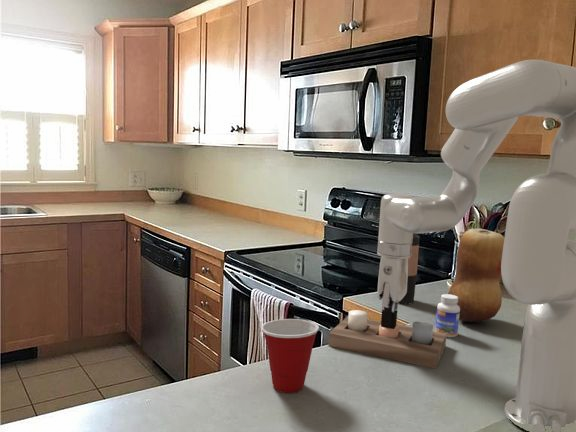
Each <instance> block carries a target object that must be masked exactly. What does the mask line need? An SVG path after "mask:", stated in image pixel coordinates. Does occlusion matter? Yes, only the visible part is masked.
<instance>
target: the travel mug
mask: <svg viewBox="0 0 576 432" xmlns="http://www.w3.org/2000/svg"><path fill="white" fill-rule="evenodd" d="M419 248H420V236H419V235H418V234H414V233H413V239H412V251H411V257H410V258H408V279H407V293H406V295H405V296H404V297H403V298H402V300H401V301H399V302H398V303H401V304H400V305H410V304H409V303H412V304H413V303H414V302H415V301H414V299H415V294H416V285H417V283H416V282H417V275H418V264H419V263H418V262H419Z"/></svg>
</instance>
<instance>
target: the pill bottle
mask: <svg viewBox="0 0 576 432" xmlns="http://www.w3.org/2000/svg"><path fill="white" fill-rule="evenodd" d="M457 303H458V297H457V296H455V295H451V294H448V293H444V294H441V297H440V302H438V304H437V308H436V317H435V325H434V326H435V327H434V328H435V329H434V332H440V333H445V334H447V335H446V338H455V337H457V336H458V331H459V324H460V318H459V315H460V307H459V306H458V305H457Z"/></svg>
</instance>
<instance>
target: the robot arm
mask: <svg viewBox="0 0 576 432" xmlns="http://www.w3.org/2000/svg"><path fill="white" fill-rule="evenodd" d="M445 116H446V120H447V122H448V124H449V125H450V126H451V127H452V128H454V129H453V132H452V133H451V134H450V136H449V137H448V139H447V140H446V142H445V143H444V145H443V146H442V148H441V150H440V157H441V159H442V161H443V162H444V164H445V165H446V166H447V167H448V168H450V169H451V170H452V176H451V178H450V180H449V182H448V184H446V185H447V186H445V188H444V190H443V191H442V192H441V194H440V195H439V196H423V197H413V196H412V195H409V194H403V193H386V194H384V195H383V196H382V197H381V200H380V208H379V209H380V211H379V224H378V237H377V240H378V241H377V252H376V254H377V255H378V256H379V257H380V262H379V269H378V279H377V280H378V281H377V291H376V292H377V293H376V295H377V298H378V299H379V300H382V301H381V303H382V305H381V319H380V320H381V321H380V322H381V327H386V328H391V329H394V328H395V327H396V325H397V319H398V305H399V304H398V302H399V301H401V300H402V298H403V297H404V296H405V295H406V293H407V279H408V258H410V257H411V251H412V239H413V234H415V235H418V234H426V233H435V232H437V233H439V232H445V231H446V232H447V231H449V230H451V229H454V227H456V226H457V225H458V224H459V223H460V222H461V220H463V218H464V217H465V216H466V214H467V213H468V212H469V210H470V209H471V207H472V206H473V204H474V203H475V201H476V198H477V197H478V193H479V187H480V181H481V180H480V173H481V172H482V170H483V169H484V167H485V166H486V164H487V163H488V161H489V160H490V159H491V157H492V156H493V155H494V154H495V152H496V151H497V149H498V147H500V145H501V143H502V142H503V141H504V139H505V138H506V136H507V135H508V134H509V132H511V130H512V128H513V127H514V125H515V124H516V122H517V121H518V119H519V117H523V116H530V117H531V116H532V117H540V118H549V119H555V120H556V119H557V120H558V121H559V122H560V126H559V129H558V130H557V132H556V134H555V136H554V138H553V141H552V145H551V146H550V157H549V163H548V167H547V171H546V173H539V174H536V175H532V176H530V177H528V178H527V179H525V180H524V181H522V183H520V184H519V186H518V187H517V188H516V189H515V191H514V193H513V195H512V197H511V198H510V202H509V206H508V211H507V218H506V223H505V224H506V226H505V232H504V237H505V238H504V245H503V253H502V261H501V275H500V276H501V279H502V284H503V285H504V288H505V289H506V291H507V293H508V294H509V295H510V296H511V297H512V298H513V299H515V301H517V302H520V303H522V304H525V305H527V306H526V310H525V316H524V322H523V328H522V329H523V331H522V336H521V337H522V339H521V346H520V353H519V354H520V356H519V365H518V373H517V383H516V389H515V391H516V393H515V397H513V398H511V399H509V400H508V401H506V403H505V404H504V415H505V417H506V418H507V419H508V420H509V419H510V420H512V421H515V422H517V423H521V424H525V423H526V422H527V424H532V430H533V432H545V431H546V429H545V426H551V429H552V432H561V427H565V425H566V424H570V423H573V422H574V421H575V420H576V240H573V239H569V234H575V233H576V67H575V66H571V65H567V64H562V63H557V62H552V61H547V60H543V59H525V60H524V59H523V60H521V61H520V60H519V61H517V62H514V63H512V64H508V65H506V66H504V67H501V68H499V69H496V70H493V71H491V72H488V73H487V72H486V73H484V74H482V75H480V76H479V75H478V76H477V77H475V78H471V79H469V80H467V81H466V82H463V83H461V84H460V85H459V86H457V87H456V89H454V90H452V92H451V94H450V95H449V97H448V99H447V101H446V105H445ZM510 420H509V421H510Z"/></svg>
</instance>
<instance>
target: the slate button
mask: <svg viewBox="0 0 576 432" xmlns="http://www.w3.org/2000/svg"><path fill="white" fill-rule="evenodd" d="M411 327H412V338H411V341H412V342H414V343H420V344H425V345H431V343H432V331H434V325H433V324H432V323H430V322H427V321H414V322H412V326H411Z"/></svg>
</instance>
